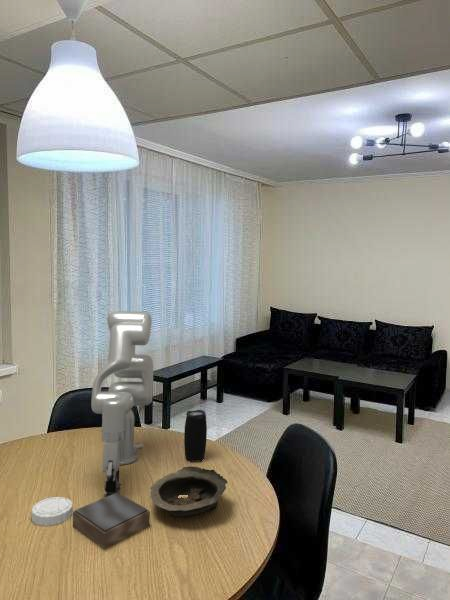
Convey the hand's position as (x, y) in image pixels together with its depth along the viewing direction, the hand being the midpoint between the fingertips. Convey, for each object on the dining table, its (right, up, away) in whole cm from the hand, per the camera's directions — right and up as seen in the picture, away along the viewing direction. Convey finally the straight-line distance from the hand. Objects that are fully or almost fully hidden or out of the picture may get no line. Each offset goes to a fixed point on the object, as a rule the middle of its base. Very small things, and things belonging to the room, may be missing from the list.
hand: (112, 486), depth 151 cm
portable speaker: (+26, -2, +32) cm, 41 cm away
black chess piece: (0, -3, 0) cm, 3 cm away
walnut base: (+4, -4, -18) cm, 19 cm away
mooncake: (-15, -4, -13) cm, 21 cm away
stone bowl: (+26, -5, -6) cm, 27 cm away
